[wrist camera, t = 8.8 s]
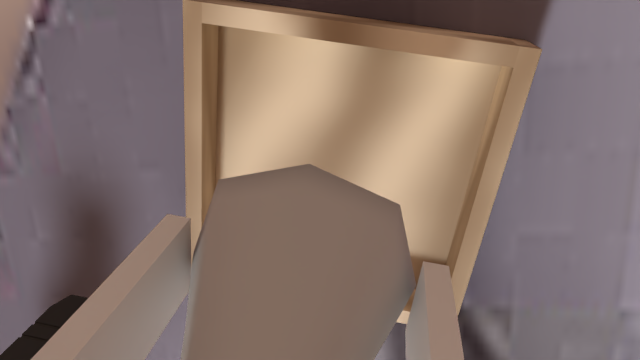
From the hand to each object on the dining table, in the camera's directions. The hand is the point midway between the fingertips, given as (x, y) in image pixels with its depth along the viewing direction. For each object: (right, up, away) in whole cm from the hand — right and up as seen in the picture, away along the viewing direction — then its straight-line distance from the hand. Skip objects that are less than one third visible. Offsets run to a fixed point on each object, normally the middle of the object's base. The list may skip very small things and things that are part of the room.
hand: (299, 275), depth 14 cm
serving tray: (+2, +4, +9) cm, 9 cm away
